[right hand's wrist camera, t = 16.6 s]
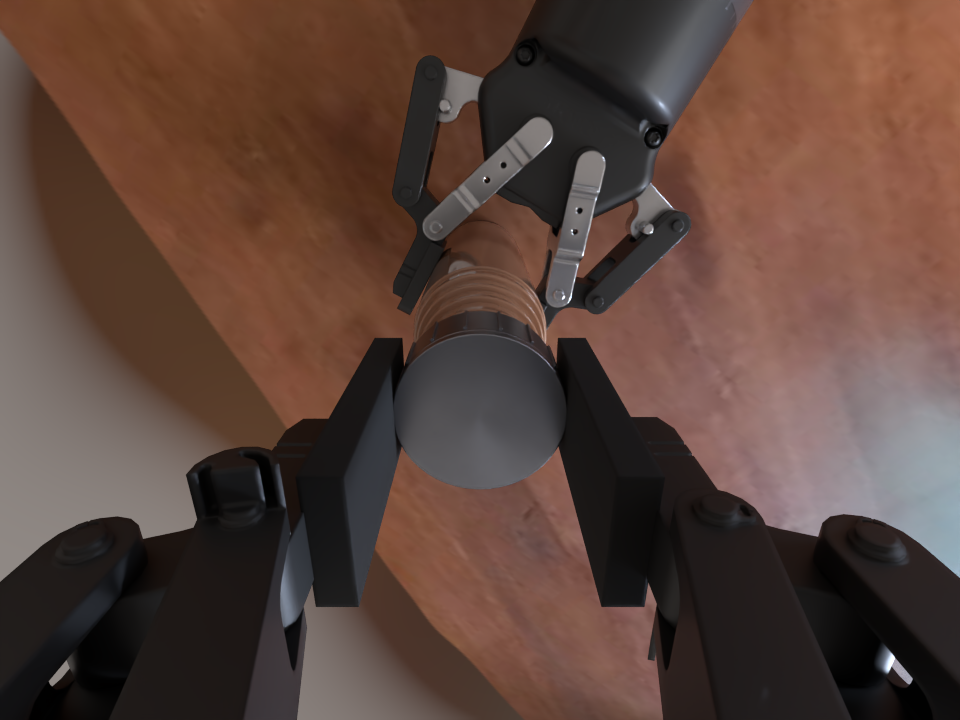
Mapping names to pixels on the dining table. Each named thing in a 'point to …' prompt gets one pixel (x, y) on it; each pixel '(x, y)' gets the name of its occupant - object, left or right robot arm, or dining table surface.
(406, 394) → the cap
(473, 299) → the bottle
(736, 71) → the dining table surface
